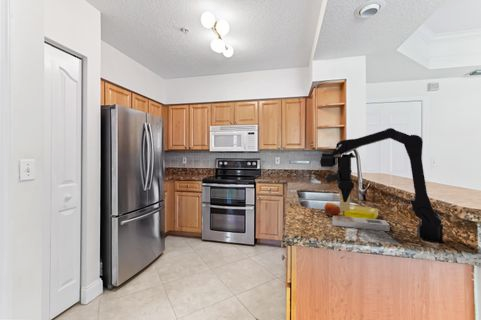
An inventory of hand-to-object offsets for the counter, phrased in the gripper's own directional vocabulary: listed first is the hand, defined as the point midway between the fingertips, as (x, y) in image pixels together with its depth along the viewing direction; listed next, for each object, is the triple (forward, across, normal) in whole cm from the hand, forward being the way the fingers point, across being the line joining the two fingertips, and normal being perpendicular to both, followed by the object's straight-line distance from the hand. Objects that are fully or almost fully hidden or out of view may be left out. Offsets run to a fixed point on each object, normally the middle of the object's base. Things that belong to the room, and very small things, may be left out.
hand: (344, 201), depth 102 cm
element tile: (+12, -18, +9) cm, 23 cm away
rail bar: (+11, 0, +6) cm, 12 cm away
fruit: (+11, -15, -5) cm, 19 cm away
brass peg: (+4, 0, 0) cm, 4 cm away
